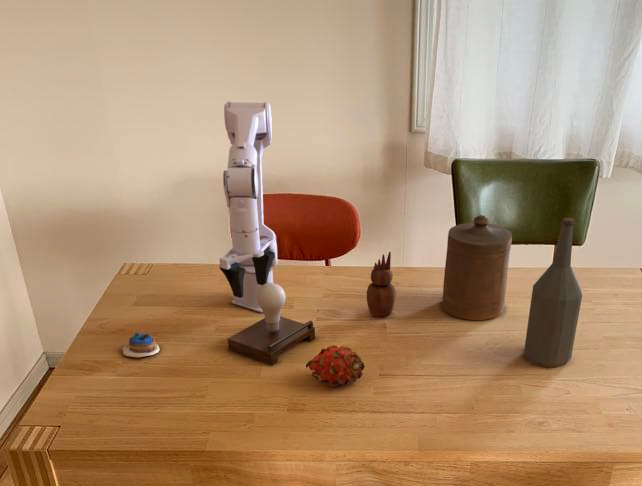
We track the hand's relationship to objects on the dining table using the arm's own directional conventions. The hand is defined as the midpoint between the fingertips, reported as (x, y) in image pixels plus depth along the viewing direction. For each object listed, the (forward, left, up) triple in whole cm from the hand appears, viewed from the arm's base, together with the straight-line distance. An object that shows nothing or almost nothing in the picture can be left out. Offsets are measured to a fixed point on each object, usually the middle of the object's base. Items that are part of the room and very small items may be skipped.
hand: (250, 290), depth 171 cm
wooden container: (+34, +41, -11) cm, 54 cm away
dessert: (-14, -20, -11) cm, 27 cm away
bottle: (+59, +28, -11) cm, 66 cm away
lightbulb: (+7, -1, -8) cm, 10 cm away
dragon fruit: (+28, -7, -11) cm, 30 cm away
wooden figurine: (+18, +25, -11) cm, 32 cm away
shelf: (+7, -2, -10) cm, 12 cm away
